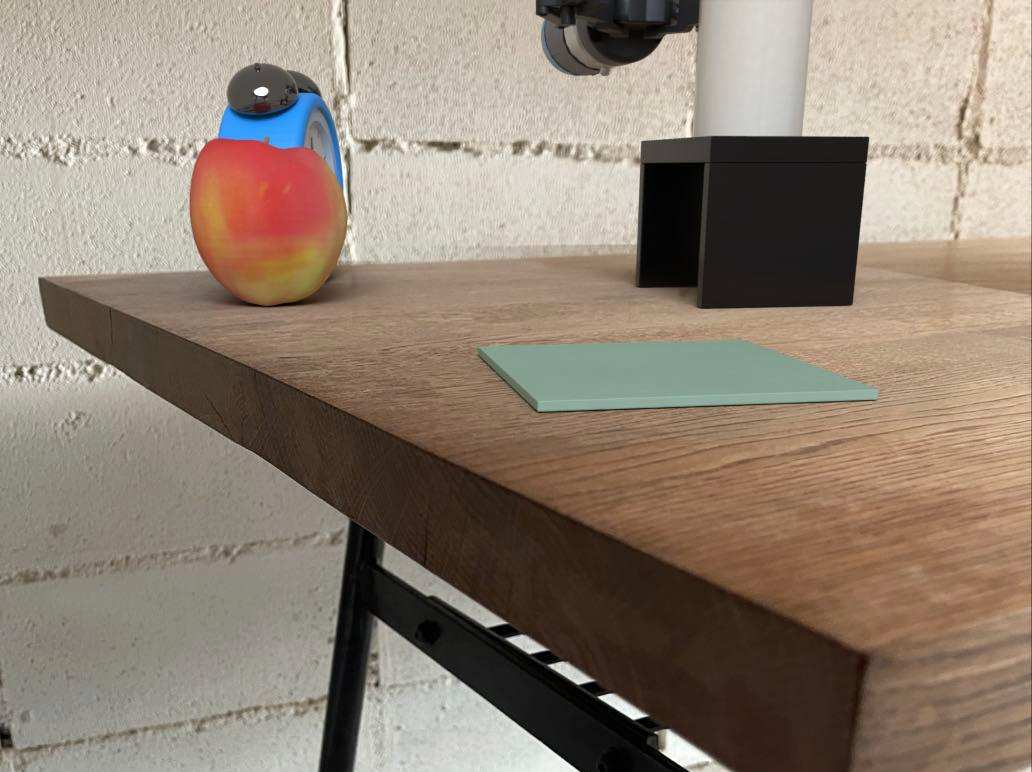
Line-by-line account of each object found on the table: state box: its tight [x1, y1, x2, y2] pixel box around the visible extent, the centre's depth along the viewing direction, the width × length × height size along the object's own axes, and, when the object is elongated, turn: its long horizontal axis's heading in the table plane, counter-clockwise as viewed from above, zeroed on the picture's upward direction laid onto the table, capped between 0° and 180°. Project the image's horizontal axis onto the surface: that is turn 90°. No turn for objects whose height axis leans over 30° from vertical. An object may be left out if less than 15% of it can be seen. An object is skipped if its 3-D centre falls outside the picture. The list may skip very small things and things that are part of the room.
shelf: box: [634, 135, 870, 309], centre depth 75 cm, size 10×14×10 cm
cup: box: [691, 0, 814, 137], centre depth 72 cm, size 7×7×10 cm
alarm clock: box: [217, 62, 344, 193], centre depth 82 cm, size 13×6×15 cm, turn 174°
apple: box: [188, 136, 349, 307], centre depth 70 cm, size 10×10×10 cm
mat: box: [477, 338, 880, 413], centre depth 47 cm, size 13×13×1 cm
